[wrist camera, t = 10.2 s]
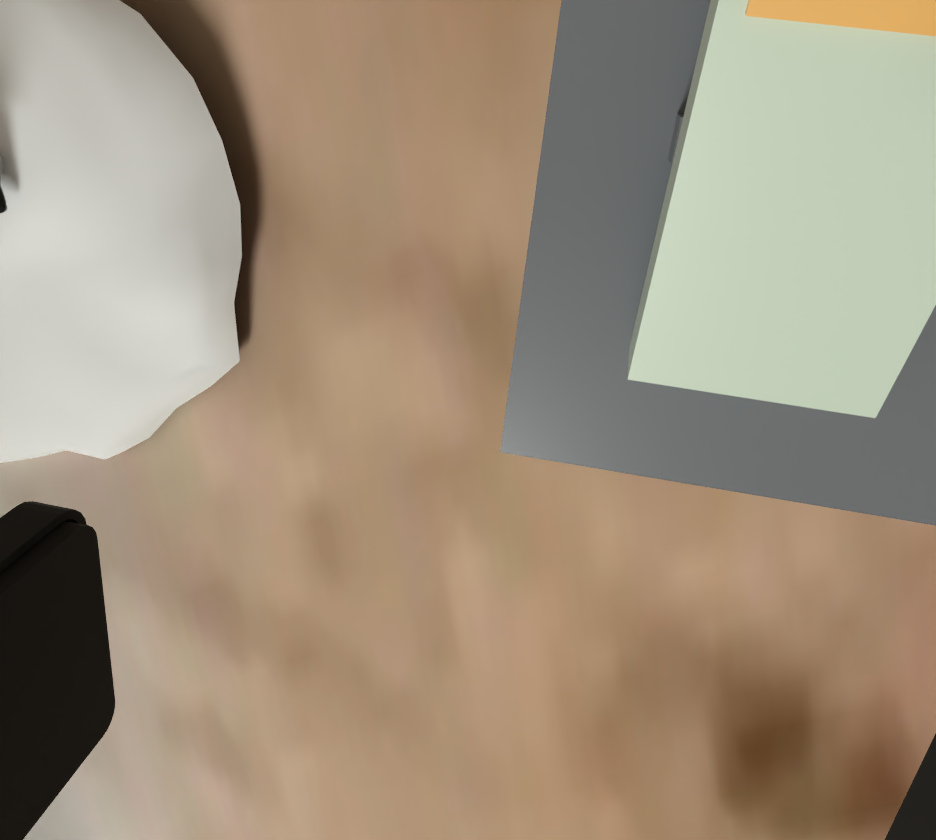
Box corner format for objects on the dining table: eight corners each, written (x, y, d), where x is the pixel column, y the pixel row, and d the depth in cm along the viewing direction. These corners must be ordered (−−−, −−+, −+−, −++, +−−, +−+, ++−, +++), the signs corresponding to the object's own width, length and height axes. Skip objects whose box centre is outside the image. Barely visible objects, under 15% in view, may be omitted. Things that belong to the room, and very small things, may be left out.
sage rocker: (864, 382, 20) (877, 423, 19) (629, 347, 21) (627, 384, 20) (1126, -141, 13) (1171, -126, 12) (750, -172, 14) (759, -162, 12)
